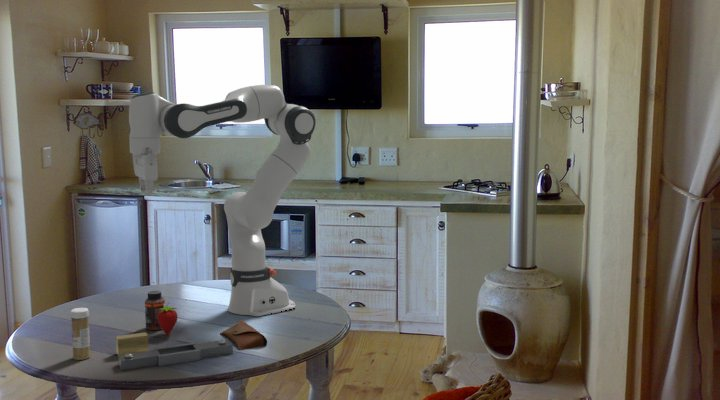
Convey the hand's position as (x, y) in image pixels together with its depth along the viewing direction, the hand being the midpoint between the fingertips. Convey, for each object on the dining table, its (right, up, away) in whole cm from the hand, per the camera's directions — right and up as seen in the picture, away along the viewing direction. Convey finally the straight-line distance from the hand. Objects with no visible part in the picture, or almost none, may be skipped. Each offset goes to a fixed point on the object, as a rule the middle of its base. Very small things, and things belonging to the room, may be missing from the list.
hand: (146, 193), depth 216 cm
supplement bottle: (+2, -41, +5) cm, 42 cm away
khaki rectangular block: (+1, -44, -17) cm, 48 cm away
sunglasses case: (+30, -43, -6) cm, 53 cm away
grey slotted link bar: (+15, -45, -22) cm, 52 cm away
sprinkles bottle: (-11, -45, -21) cm, 51 cm away
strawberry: (+7, -42, -1) cm, 43 cm away
